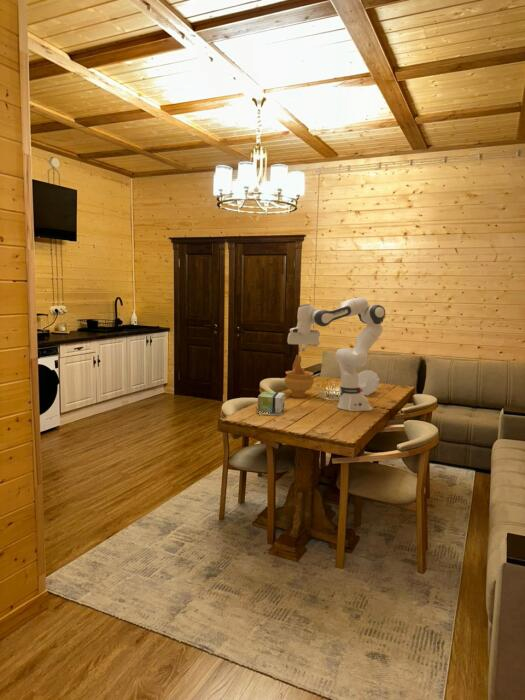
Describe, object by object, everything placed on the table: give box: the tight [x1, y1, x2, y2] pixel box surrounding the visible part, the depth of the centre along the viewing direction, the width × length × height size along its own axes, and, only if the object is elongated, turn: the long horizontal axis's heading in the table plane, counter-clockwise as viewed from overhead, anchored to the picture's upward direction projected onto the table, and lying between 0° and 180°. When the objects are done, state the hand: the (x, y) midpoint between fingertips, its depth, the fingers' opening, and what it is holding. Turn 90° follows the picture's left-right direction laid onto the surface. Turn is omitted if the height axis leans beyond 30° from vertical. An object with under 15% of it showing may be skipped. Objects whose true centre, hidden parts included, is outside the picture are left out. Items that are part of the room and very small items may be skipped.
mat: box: [255, 406, 284, 416], centre depth 299 cm, size 15×20×1 cm
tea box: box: [257, 391, 286, 413], centre depth 302 cm, size 15×10×15 cm
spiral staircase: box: [357, 369, 381, 396], centre depth 362 cm, size 18×18×25 cm
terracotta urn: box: [284, 354, 315, 398], centre depth 346 cm, size 21×21×30 cm
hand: (302, 351), depth 307 cm, fingers closed
